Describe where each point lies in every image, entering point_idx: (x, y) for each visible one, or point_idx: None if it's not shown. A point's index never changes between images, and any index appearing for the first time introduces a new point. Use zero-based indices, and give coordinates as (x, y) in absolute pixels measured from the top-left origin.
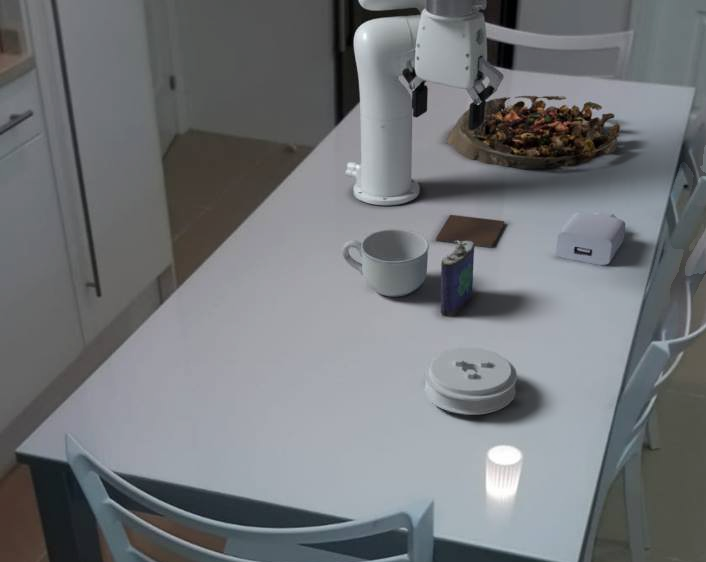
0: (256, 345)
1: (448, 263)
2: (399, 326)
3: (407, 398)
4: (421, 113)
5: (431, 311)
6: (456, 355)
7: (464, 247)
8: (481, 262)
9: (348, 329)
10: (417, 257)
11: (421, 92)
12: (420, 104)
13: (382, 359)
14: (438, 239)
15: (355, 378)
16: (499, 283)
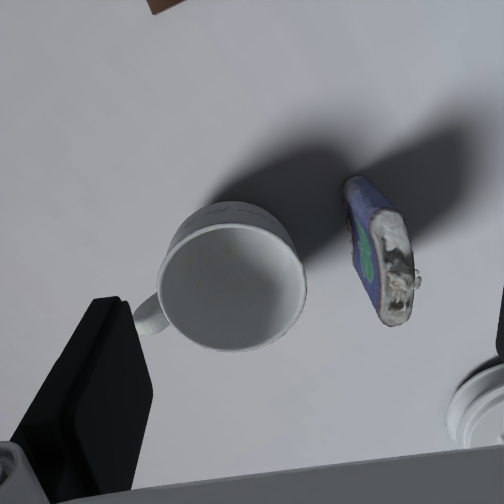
0: (195, 468)
1: (401, 323)
2: (322, 335)
3: (433, 446)
4: (141, 359)
5: (338, 272)
6: (493, 425)
7: (409, 271)
8: (308, 43)
9: (264, 381)
10: (304, 300)
11: (107, 486)
12: (131, 417)
13: (355, 407)
14: (159, 12)
15: (352, 451)
16: (391, 105)
